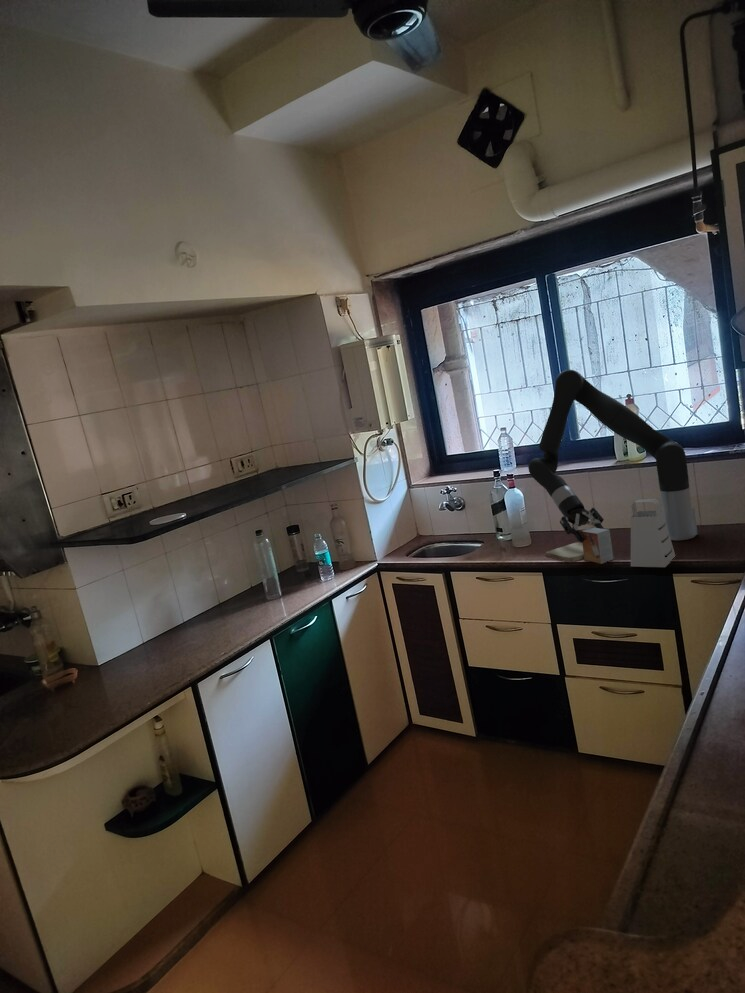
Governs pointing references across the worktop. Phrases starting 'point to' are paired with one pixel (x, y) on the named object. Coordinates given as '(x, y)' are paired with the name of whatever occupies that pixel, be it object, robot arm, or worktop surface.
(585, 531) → the small box
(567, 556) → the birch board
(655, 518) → the grater
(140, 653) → the worktop surface
